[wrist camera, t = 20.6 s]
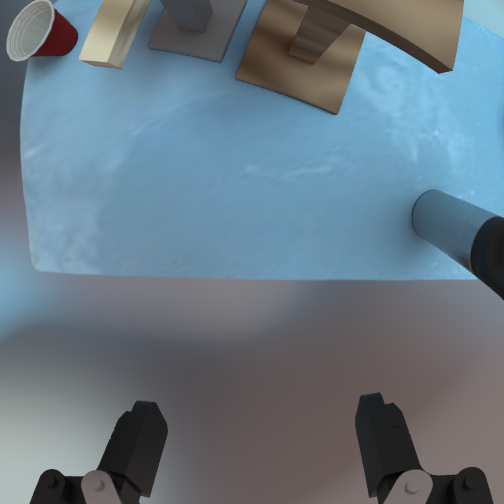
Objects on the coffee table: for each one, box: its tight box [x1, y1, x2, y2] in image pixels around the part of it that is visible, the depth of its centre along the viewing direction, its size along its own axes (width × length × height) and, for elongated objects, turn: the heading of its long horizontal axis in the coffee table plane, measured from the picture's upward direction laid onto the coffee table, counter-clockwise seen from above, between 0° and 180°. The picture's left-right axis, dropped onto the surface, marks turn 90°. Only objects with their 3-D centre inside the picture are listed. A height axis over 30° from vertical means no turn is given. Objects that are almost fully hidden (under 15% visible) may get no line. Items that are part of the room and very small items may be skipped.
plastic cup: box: [7, 0, 78, 61], centre depth 29 cm, size 11×11×12 cm
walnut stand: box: [235, 0, 464, 115], centre depth 22 cm, size 16×16×32 cm
